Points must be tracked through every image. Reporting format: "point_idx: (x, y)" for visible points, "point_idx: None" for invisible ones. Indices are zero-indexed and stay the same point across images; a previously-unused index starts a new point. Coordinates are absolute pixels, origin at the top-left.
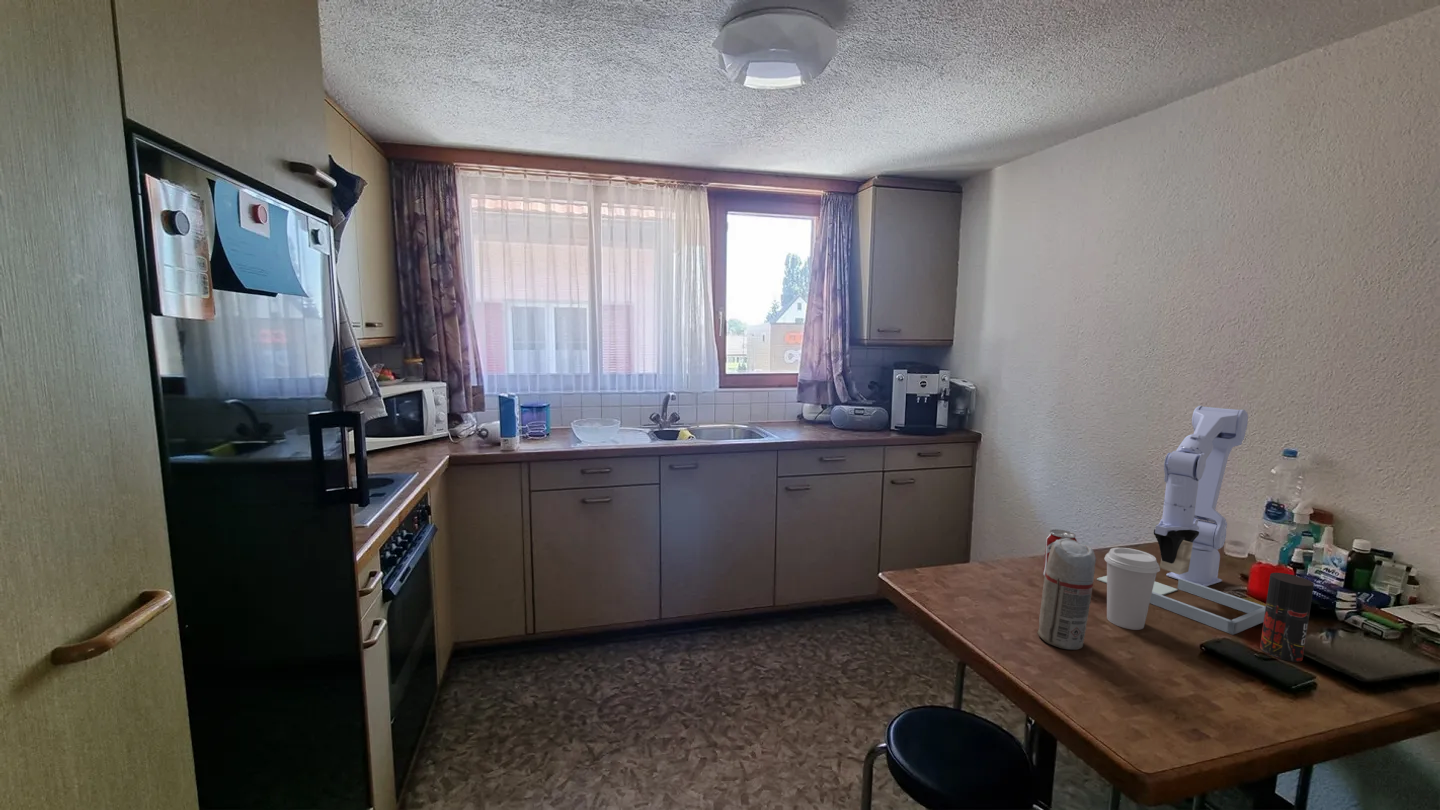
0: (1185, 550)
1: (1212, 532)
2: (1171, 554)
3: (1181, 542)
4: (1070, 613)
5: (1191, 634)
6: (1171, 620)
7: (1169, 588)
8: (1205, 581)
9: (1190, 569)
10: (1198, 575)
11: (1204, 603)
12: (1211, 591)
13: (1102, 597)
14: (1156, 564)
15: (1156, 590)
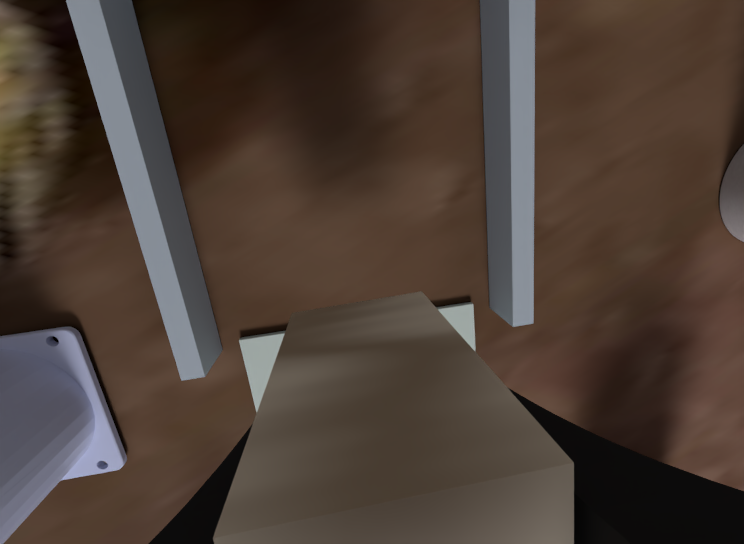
0: (446, 407)
1: None
2: None
3: (640, 539)
4: None
5: (666, 6)
6: (597, 132)
7: (271, 354)
8: (6, 355)
9: (31, 432)
10: (20, 387)
11: (257, 203)
12: (166, 223)
13: (623, 361)
14: None
15: None
